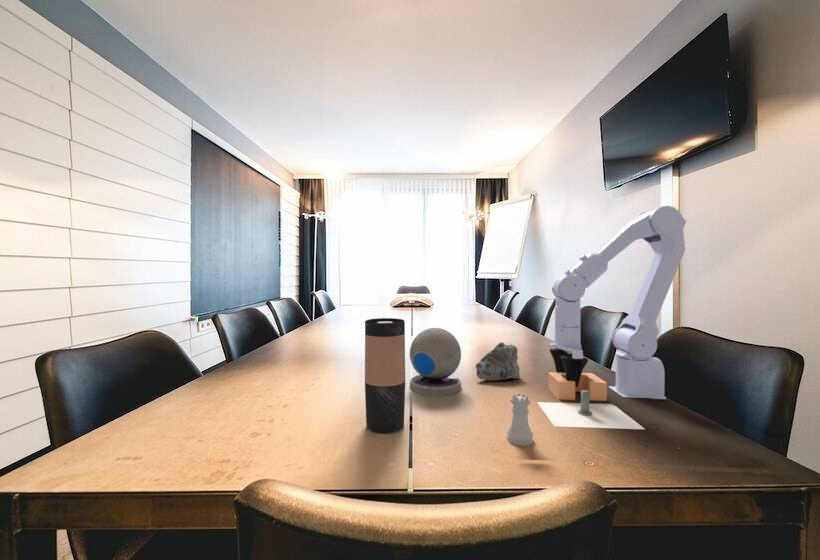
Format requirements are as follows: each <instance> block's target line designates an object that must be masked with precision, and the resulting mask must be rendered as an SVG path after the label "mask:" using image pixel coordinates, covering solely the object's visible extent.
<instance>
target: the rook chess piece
mask: <svg viewBox="0 0 820 560" xmlns="http://www.w3.org/2000/svg"><path fill="white" fill-rule="evenodd" d="M510 402H511V404H512V408H511V411H512V419H511V424H510V425H509V428H508V430H507V432H506V434H507V436H506V440H507V441H508V442H510V443H511V444H514V445H518V446H529V445H533V443H534V434H533V432H532V430H531V427H530V424H529V419H528V413H529V411H530V410H529V409H528V406H530V404H531V401H530V399H529V396H528V395H526V394H525V393H522V394H520V393H513V394H512V397H511V399H510Z"/></svg>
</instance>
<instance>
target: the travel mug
mask: <svg viewBox="0 0 820 560" xmlns="http://www.w3.org/2000/svg"><path fill="white" fill-rule="evenodd" d="M405 323H406V322H405V320H404V319H403V318H391V317H390V318H389V317H384V318H383V317H382V318H379V317H378V318H369V319H366V320H365V321H364V395H365V396H364V397H365V423H366V424H365V425H366V428H367V430H368V431H370V432H372V433H375V434H381V435H382V434H384V435H385V434H386V435H387V434H393V433H396V432H399V431H401V430H402V429H403V428H404V425H405V406H406V405H405V402H406V400H405V399H406V329H405V328H406V324H405Z"/></svg>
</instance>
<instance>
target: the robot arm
mask: <svg viewBox="0 0 820 560" xmlns="http://www.w3.org/2000/svg"><path fill="white" fill-rule="evenodd" d="M686 222H687V221H686V219H685V218H684V217H683V215H682V214H681V212H680V211H679V210H678V209H677V208H676V207H674V206H671V205H664V206H663V205H662V206H660V207H657V208H656V209H653V210H650V211H644V212H641V213H640V214H638V215H637V216H636V217H635V218H633V219H632V220H630V221H629V222H628V223H627V224H625V225H624V227H622V229H621V230H619V232H617V233H616V234H615V235H614V236H613V237H612V238H611V239H610V240H608V242H607V243H606V244H605V245H604V246H603V247H602V248H601V249H600V250H599V251H598V252H596V253H594V252H593V253H587V254H582V255H581V256H580V257H579V262H577V263H576V264H575V265H574V266H573V267H572V268H571V269H566V270H565V271H564V274H565V276H561V277H559V278H557V279H556V280H555V281H554V283H553V286H552V287H551V291H552V294H553V296H555V298H554V299H555V305H554V340H553V341H554V342H551V343H549V347H551V348H549V350H548V351H549V352H550V354H551V357H552V359H553V363H554V366H555V372H563V373H566V380H567V381H574V382H575V387H578V384H579V381H580V377H581V373H583V370H584V369H585V367H586V365H587V364H588V361H589V360H588V358H587V357H584V351H583V349H582V344H581V322H582V321H581V317H582V315H581V312H582V311H581V309H582V308H581V298H582V297H584V295H585V292H586V289H588V288H589V287H590V286H591V285H592V284H594V283H595V282H596V281H597V280H598V279H599V278H600V277H601V276H602V275H604V274H605V273H606V272H607V271H608V267H609V263H610V261H611V260H613V259H614V258H615V257H617V255H619V254H621V252H622V251H624V250H625V249H627V248H629V246H631V244H632V243H634V242H635V241H637V240H642V239H643V240H644V241H645V242H646V243H648V244H649V246H650V247H651V249H652V251H653V252H654V255H653V257H652V260H651V262H650V264H649V266H648V270H647V272H646V275H645V277H644V279H643V281H642V284H641V287H640V288H639V289H640V290H639V292H638V294H637V296H636V299H635V302H634V303H633V306H632V309H631V311H630V313H629V314H628V315H626V316H625V318H623V319H622V321H621V323H620V324H619V326H618V327H617V328H616V329H615V330H614V331H613V332H612V335H611V341H612V345H613V346H614V347H615V348H616V352H615V385H614V386H613V385H610V386H608V388H609V389H611V390H612V391H613V392H616V394H618V395H620V397H622V398H635V399H637V398H643V399H652V400H666V399H667V397H666V396H665V375H666V373H665V367H664V364H663V362H662V360H661V359H660V358H659V357H655V356H654V354H655V353H656V351H657V349H658V341H657V339H658V335H659V333H660V331H659V328H658V325H657V319H658V316H659V314H660V313H661V312H660V311H661V310H662V307H663V305H664V303H665V300H666V297H667V295H668V293H669V290H670V287H671V285H672V283H673V281H674V278H675V276H676V274H677V271H678V268H679V266H680V264H681V261H682V259H683V256H684V255H685V251H686V246H685V236H684V227H685V225H686Z"/></svg>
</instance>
